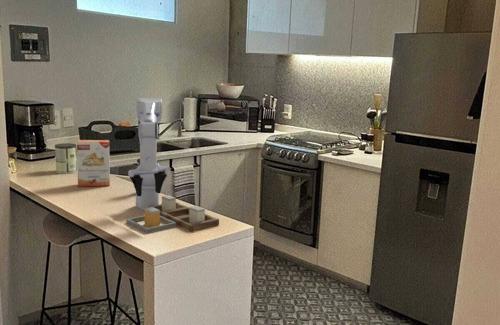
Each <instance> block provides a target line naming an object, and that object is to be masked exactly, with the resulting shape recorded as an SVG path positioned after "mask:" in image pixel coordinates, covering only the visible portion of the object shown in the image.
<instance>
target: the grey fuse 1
mask: <svg viewBox="0 0 500 325" xmlns="http://www.w3.org/2000/svg"><path fill="white" fill-rule="evenodd" d="M176 202H177V198H176V197H174V196H172V195H170V194H167V195H162V196H161V204H162V212H163V211H168V210H173V209H176Z"/></svg>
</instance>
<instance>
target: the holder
mask: <svg viewBox="0 0 500 325" xmlns="http://www.w3.org/2000/svg"><path fill="white" fill-rule="evenodd" d="M149 207H154V208H156V209H158V210H160V216H162V217H164V218H167V219H169V220H171V221H173V222H176V226H177V227H180V228H182V229H184V230H187V231H189V232H195V231H199V230H204V229H208V228H213V227H216V226H219V225H220V218H216V217H215V216H211V215H209V214H207V213H205V221H203V222H198V223H194V224H190V223H189V207H190V206H186V205H184V204H181V203H179V202H177V201H176V209H173V210H168V211H163V212H162V203H161V204H160V203H159V205H155V206H149Z"/></svg>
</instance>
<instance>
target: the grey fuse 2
mask: <svg viewBox="0 0 500 325" xmlns="http://www.w3.org/2000/svg"><path fill="white" fill-rule="evenodd" d="M188 207H189V223H190V224H194V223H198V222H203V221H205V214H206V209H205V208H203V207H201V206H198V205H194V206H193V205H191V206H188Z"/></svg>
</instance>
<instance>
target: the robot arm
mask: <svg viewBox="0 0 500 325" xmlns="http://www.w3.org/2000/svg"><path fill="white" fill-rule="evenodd" d="M135 104H136V116H137V121H138V122H139V123H138V138H139V139H138V140H139V142H138V143H139V158H140V164H139V165H138V166H137V167H136V169H130V170H128V172H127V173H128V177H129V179H130V181H131V183H132V184H133V187H134V189H135V207H136V208H138V209H140V210H141V211H144V212H145V208H148V207H149V206H155V205H160V194H161V192H162V188H163V185H164V183H165V180H166V178H167V176H168V170H169V169H168V168H169V167H168V166H166V165H165V166H161V165H160V164H159V163H158V161H157V160H158V155H157V154H158V153H157V152H158V151H157V150H158V148H157V147H158V146H157V145H158V144H157V142H158V141H157V139H158V137H159V125H158V123H160V122H161V121H162V117H163V99H162V98H143V97H141V98H140V97H137V98H136V103H135Z"/></svg>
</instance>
